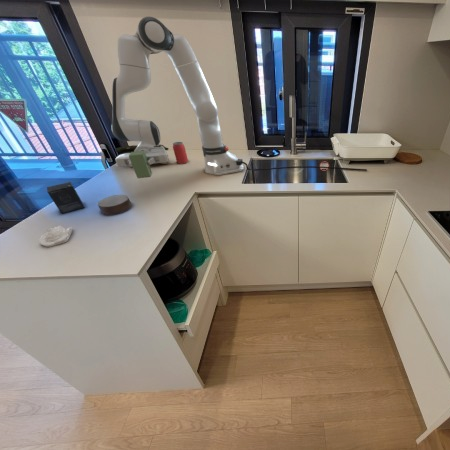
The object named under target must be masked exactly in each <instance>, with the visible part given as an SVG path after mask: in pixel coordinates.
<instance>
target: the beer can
mask: <svg viewBox="0 0 450 450" xmlns="http://www.w3.org/2000/svg"><path fill="white" fill-rule="evenodd" d="M172 150H173V152H174V156H175V160H176V163H177V164H181V165H183V164H187V163H188V162H189V158H188V155H187V151H186V147H185V144H184V143H183V142H182V141H176V142H173V143H172Z"/></svg>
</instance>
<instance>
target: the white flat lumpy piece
mask: <svg viewBox="0 0 450 450" xmlns="http://www.w3.org/2000/svg"><path fill="white" fill-rule="evenodd" d="M73 229H74V228H73V227H71V226H70V227H67V228H64V227H63V226H62V225H56V226H54V227H49V228H47V229H46V231H45V232H44V234H42V235H41V236H39V240H38V243H39V244H40V245H42V246H44V247H47V248H50V247H54V246H56V245H61V244H65V243H66V242H68V241H69V238H70V237H71V235H72V232H73Z"/></svg>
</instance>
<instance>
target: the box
mask: <svg viewBox="0 0 450 450" xmlns="http://www.w3.org/2000/svg"><path fill="white" fill-rule="evenodd" d="M46 190H47V191H46V192H47V194H48V195H49V197H50V199H51V200H52V201H53V203H54V204H55V206H56V207H57V209H58V211H59V212H60V214H66V213H70V212H74V211H77V210H81V209H85V206H84V202H83V201H82V199H81V197H80V195H79V194H78V192H77V190H76V188H75V187H74V185H73V183H72V182H71V181H69V182H64V183H59V184H55V185H50V186H47V187H46Z"/></svg>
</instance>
